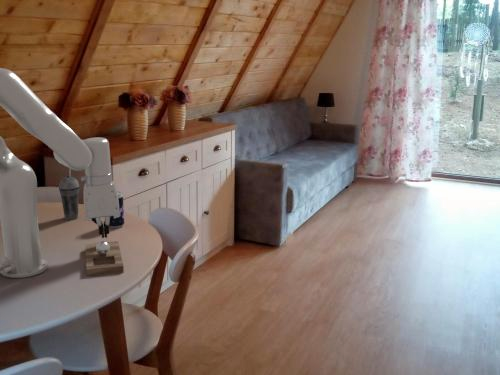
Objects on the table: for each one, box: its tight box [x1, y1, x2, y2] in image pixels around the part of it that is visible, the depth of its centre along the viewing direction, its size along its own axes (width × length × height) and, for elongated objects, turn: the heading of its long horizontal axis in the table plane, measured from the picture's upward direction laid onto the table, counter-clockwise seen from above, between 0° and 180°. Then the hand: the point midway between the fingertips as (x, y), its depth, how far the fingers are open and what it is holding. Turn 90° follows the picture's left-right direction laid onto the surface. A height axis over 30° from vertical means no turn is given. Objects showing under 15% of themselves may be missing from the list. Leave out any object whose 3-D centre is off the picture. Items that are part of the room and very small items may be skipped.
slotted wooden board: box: [84, 241, 125, 277], centre depth 164 cm, size 20×10×2 cm, turn 17°
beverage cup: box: [58, 167, 80, 221], centre depth 199 cm, size 7×7×20 cm
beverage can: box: [109, 191, 125, 229], centre depth 193 cm, size 6×6×12 cm
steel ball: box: [96, 240, 110, 255], centre depth 163 cm, size 4×4×4 cm
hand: (104, 236), depth 170 cm, fingers closed
